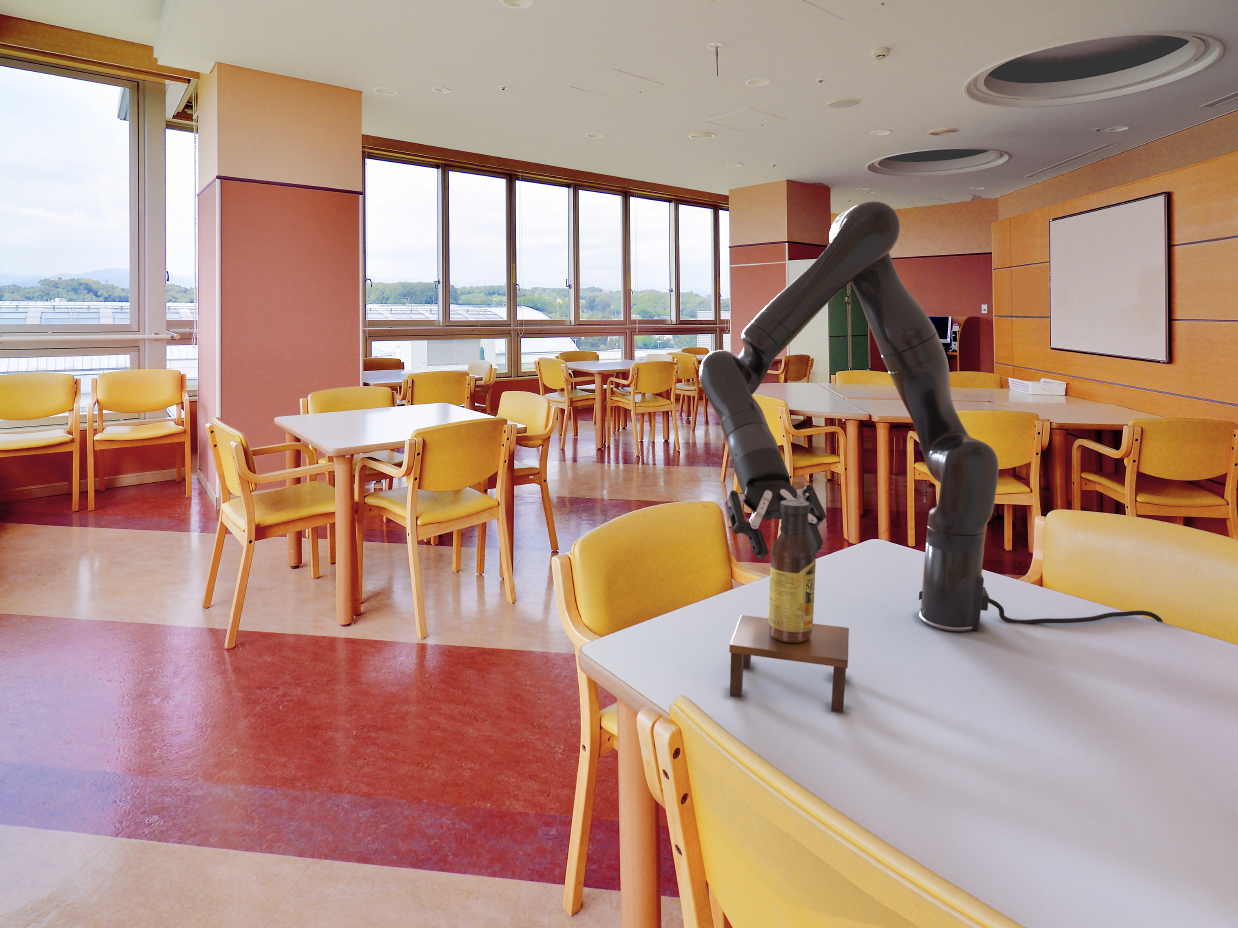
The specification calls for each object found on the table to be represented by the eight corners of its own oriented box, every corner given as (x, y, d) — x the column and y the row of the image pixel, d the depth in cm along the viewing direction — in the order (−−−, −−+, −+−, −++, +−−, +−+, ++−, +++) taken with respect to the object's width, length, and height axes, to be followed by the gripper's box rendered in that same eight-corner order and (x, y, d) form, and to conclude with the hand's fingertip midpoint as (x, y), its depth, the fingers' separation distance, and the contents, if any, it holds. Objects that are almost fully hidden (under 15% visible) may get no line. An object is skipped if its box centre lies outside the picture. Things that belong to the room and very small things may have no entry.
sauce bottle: (813, 647, 102) (820, 509, 98) (767, 643, 103) (773, 507, 99) (810, 627, 109) (817, 498, 105) (767, 624, 110) (772, 496, 106)
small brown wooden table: (845, 676, 110) (848, 627, 109) (844, 714, 100) (848, 660, 98) (739, 662, 115) (741, 614, 113) (728, 696, 105) (729, 644, 103)
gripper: (721, 448, 108) (755, 545, 99) (807, 443, 112) (846, 536, 103) (706, 476, 114) (736, 570, 105) (788, 470, 118) (823, 560, 109)
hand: (791, 553), depth 104 cm, fingers open, 8 cm apart
